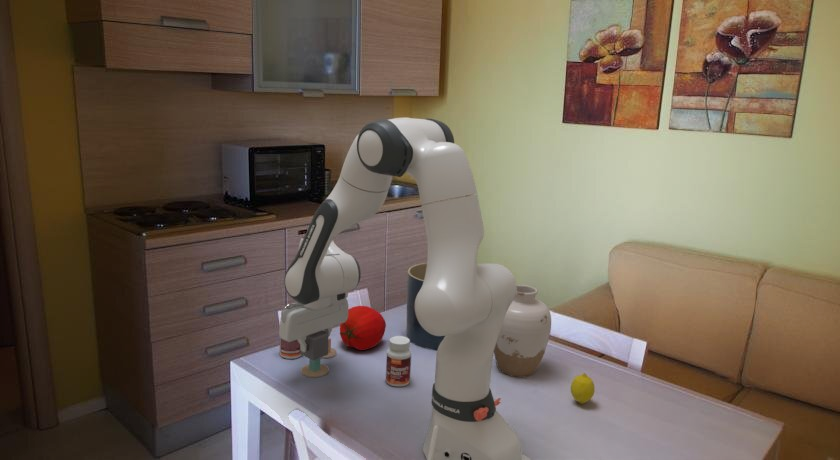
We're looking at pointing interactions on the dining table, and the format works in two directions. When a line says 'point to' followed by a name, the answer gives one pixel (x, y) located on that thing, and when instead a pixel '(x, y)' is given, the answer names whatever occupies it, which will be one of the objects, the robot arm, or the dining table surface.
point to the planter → (413, 325)
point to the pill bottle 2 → (398, 361)
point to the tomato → (362, 328)
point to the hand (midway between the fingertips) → (314, 347)
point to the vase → (523, 334)
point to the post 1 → (314, 369)
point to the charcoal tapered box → (316, 345)
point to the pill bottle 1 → (289, 349)
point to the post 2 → (330, 350)
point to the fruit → (582, 388)
